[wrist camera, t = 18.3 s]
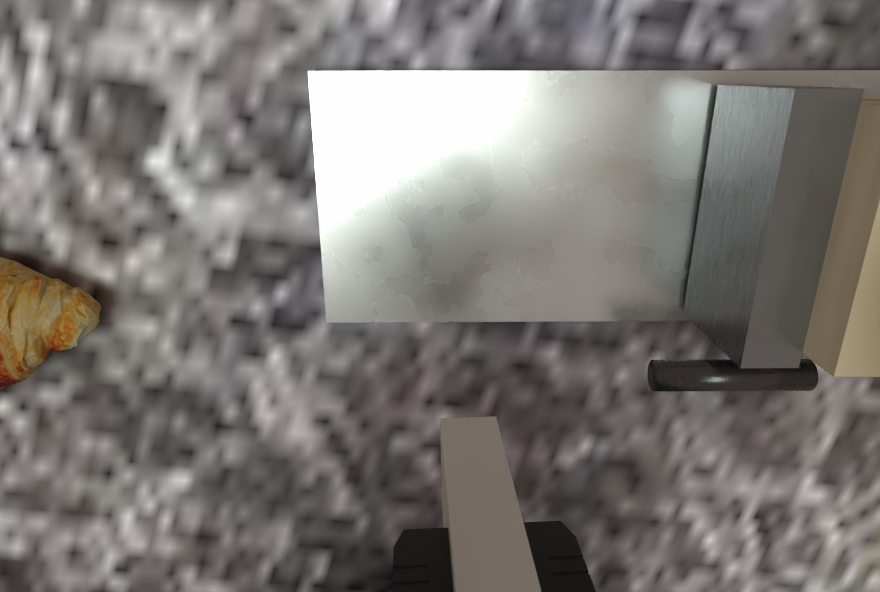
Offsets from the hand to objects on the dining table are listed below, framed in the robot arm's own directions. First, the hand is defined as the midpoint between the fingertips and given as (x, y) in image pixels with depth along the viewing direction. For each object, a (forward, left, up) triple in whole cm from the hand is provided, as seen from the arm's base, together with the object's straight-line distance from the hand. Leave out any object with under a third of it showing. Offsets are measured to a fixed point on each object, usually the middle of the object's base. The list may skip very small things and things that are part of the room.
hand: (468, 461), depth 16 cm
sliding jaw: (+11, +4, -9) cm, 15 cm away
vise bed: (+7, +5, -11) cm, 14 cm away
